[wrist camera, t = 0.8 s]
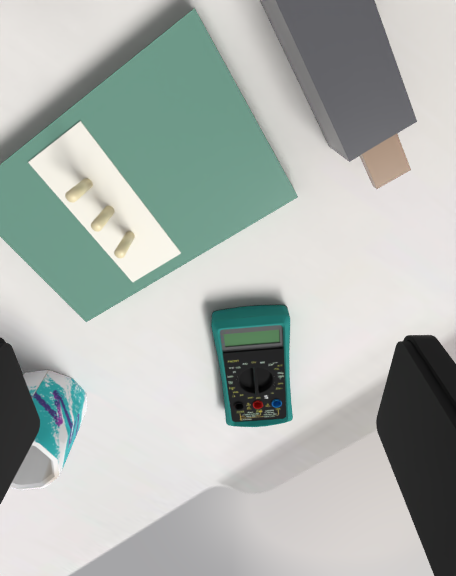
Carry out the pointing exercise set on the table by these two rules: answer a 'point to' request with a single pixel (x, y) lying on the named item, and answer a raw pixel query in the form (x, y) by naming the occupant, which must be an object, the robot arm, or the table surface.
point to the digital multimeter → (254, 364)
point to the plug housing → (347, 79)
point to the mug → (51, 427)
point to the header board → (140, 175)
